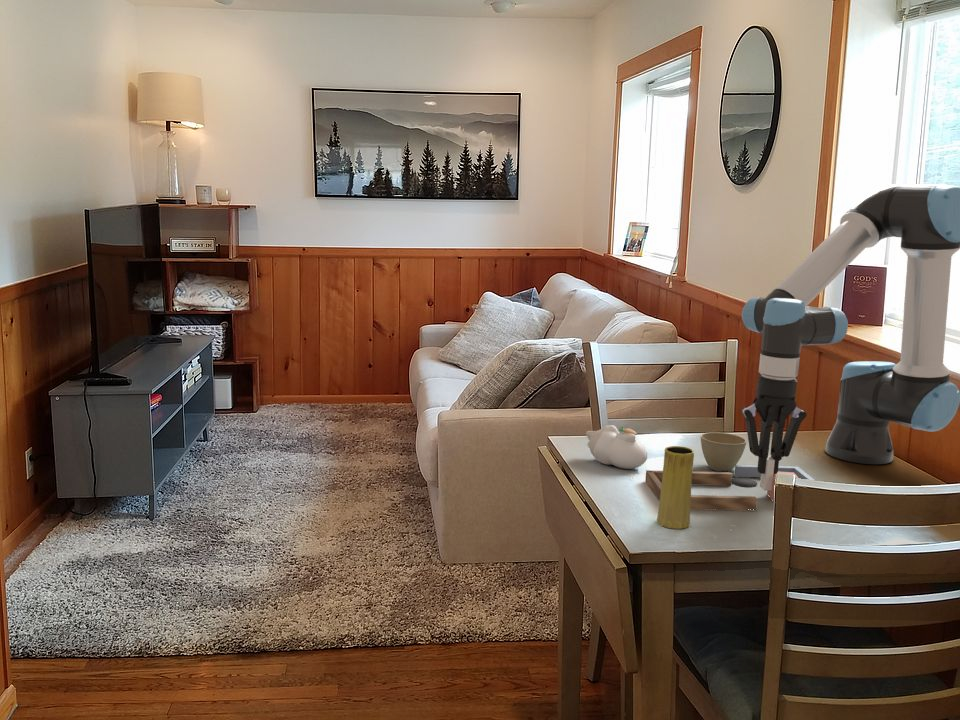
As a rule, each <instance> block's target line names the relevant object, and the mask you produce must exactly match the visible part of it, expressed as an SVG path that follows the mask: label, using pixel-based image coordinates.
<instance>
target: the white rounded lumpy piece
mask: <svg viewBox="0 0 960 720" xmlns="http://www.w3.org/2000/svg"><path fill="white" fill-rule="evenodd" d="M618 428H619V430H618ZM618 428H617V427H616V425H613V424H610V425H609V424H607V425H604V427H602V428H600V429H598V430H588V431H585V435H586V437H587V438H588V442H587V447H588V448H589V451H590V453H591V455H592V456H593V457H594V459H596V460H597V461H599V462H600V463H602V465H603V464H604V465H612V466H615V467H617V468H619V469H624V470H631V469H633V470H634V469H636V468H639V467H641V466H643V465H644V464H645V463H646V461H647V460H648V450H647V449H646V446H644V444H643V443H642V442H641V441H640V440H639V439H637V435H638V433H637V432H636V431H635V430H633V429H631V428H629V427H626V428H624V427H623V426H619V427H618Z"/></svg>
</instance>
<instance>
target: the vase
mask: <svg viewBox="0 0 960 720" xmlns="http://www.w3.org/2000/svg"><path fill="white" fill-rule="evenodd" d="M663 456H664V457H663V466H662V467H663V468H662V471H663V476H662V485H661V494H660V502H659V501H658V511H657V517H656V523H657V524H658V525H659V526H661V527H664V528H667V529H673V530H683V529H687V528H689V527H690V525H691V509H690V506H691V495H692V485H691V481H692V472H693V469H694V459H695V458H694V457H695V452H694V450H693V449H692V448H690V447H687V446H686V447H685V446H678V445H672V446H671V445H670V446H667V447H665V448H664V455H663Z"/></svg>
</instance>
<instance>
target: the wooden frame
mask: <svg viewBox="0 0 960 720" xmlns="http://www.w3.org/2000/svg"><path fill="white" fill-rule="evenodd" d="M662 476H663V470H650V469H649V470H645V481H644V482H645V483H646V485H647V486H648V488H649V489H650V490H651V491H652V494H654V495H653V496H655V498H656V499H657V500H658V503H659V502H660V494H661V485H662ZM732 477H733V473H732V472H731V471H728V472H721V471H692V481H691V484H705V485H704V486H707V485H706V484H711V485H710V486H732V479H733V478H732ZM757 503H758V498H757V497H756V496H751V495H748V496H747V495H745V496H744V495H740V496H739V495H707V494H706V495H704V494H703V495H699V494H698V495H697V494H691V506H690V510H700V509H710V510H709V511H711V509H712V511H714V510H715V509H716V510H715V511H745V510H748V509H749V510H750V509H751V510H753V509H754V510H757V506H758V505H757ZM713 509H714V510H713Z"/></svg>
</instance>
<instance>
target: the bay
mask: <svg viewBox="0 0 960 720" xmlns="http://www.w3.org/2000/svg"><path fill="white" fill-rule="evenodd" d="M757 468H758V465H753V464H751V465H750V464H749V465H748V464H736V465H735V467H734V475H735V476H736V477H735V476H734V477H735V478H750V477H761V474H760V473H759V472H758V470H757ZM778 472H793V473H795V474H796V475H797V477H798V478H801V479H809V480H815V479H814V478H813V477H812V476H811V475H810V474H808V473H806V472H805V471H804V470H803V469H802V468H801V467H800V466H796V465H795V466H791V465H790V466H789V465H788V466H787V465H781V466H780V465H779V466H778Z"/></svg>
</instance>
